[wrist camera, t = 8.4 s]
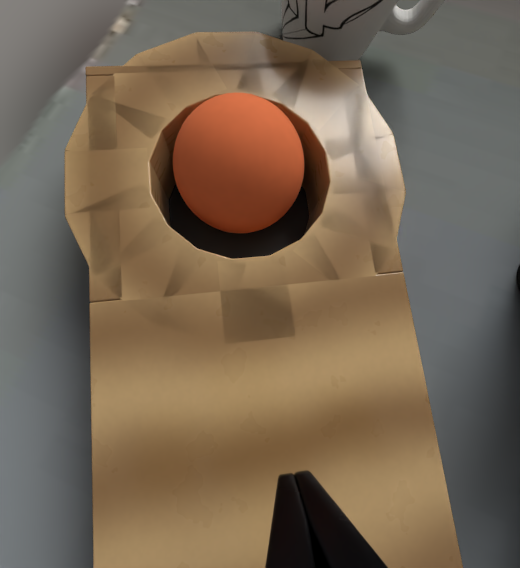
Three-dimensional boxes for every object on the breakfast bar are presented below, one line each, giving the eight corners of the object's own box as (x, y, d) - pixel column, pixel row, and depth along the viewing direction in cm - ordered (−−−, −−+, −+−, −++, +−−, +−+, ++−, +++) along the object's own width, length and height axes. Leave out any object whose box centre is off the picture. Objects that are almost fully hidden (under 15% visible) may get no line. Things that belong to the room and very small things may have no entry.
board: (430, 548, 17) (499, 621, 13) (113, 611, 15) (64, 721, 11) (344, 91, 22) (371, 29, 18) (100, 100, 20) (63, 33, 16)
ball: (307, 49, 12) (277, 108, 19) (138, 80, 12) (168, 130, 19) (333, 218, 14) (297, 218, 21) (185, 252, 14) (197, 241, 20)
